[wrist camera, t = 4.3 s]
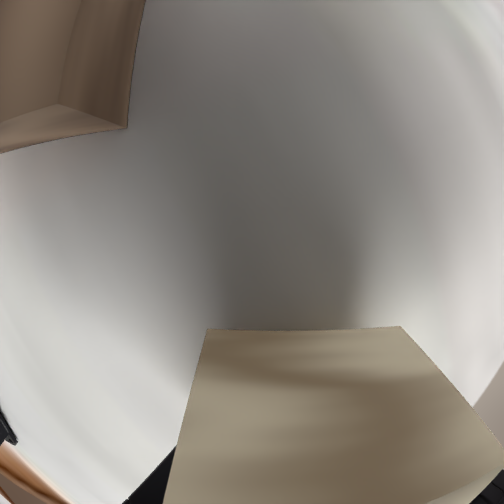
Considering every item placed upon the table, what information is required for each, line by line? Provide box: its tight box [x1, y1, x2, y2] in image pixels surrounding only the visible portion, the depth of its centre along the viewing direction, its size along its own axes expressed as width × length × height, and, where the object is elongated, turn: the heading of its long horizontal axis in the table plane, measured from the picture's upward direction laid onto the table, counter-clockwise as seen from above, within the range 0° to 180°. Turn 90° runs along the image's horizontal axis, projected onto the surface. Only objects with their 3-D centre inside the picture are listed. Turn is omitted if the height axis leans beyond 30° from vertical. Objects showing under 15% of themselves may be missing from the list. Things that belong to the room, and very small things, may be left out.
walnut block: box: [0, 0, 146, 154], centre depth 5 cm, size 10×10×4 cm
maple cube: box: [163, 326, 504, 504], centre depth 6 cm, size 6×6×6 cm
